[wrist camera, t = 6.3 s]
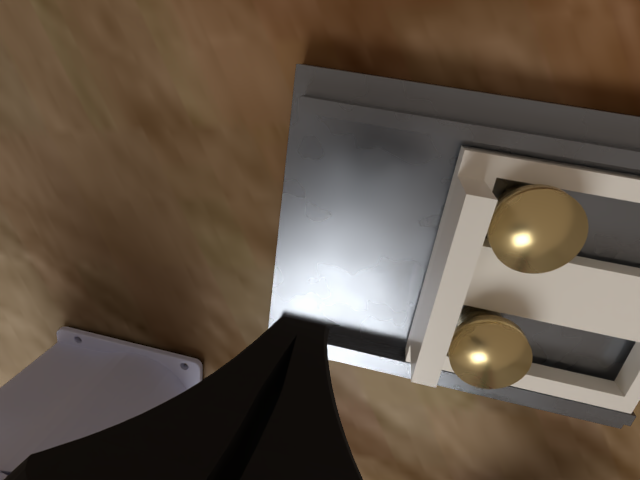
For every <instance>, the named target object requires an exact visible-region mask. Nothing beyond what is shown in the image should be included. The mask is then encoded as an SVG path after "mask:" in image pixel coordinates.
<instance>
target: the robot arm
mask: <svg viewBox="0 0 640 480" xmlns="http://www.w3.org/2000/svg"><path fill="white" fill-rule="evenodd" d="M328 335H329V329H328V328H327V326H325V325H321V324H316V323H312V322H307V321H303V320H299V319H294V318H290V317H285V316H283V317H281V318H279V319H278V320H277V321H276V322H275V323H274V324H273V325H272V326H271V327H270V328H269V329H268V330H267V331H265V332H264V333H263V334H262V335H261V336H260V337H259V338H258V339H257V340H255V341H254V342H253V343H252V344H251V345H249V346H248V347H247V348H246V349H244V350H243V351H242V352H241V353H240V354H238V355H237V356H236V357H235V358H233V359H232V360H231V361H229V362H228V363H226V364H225V365H224V366H222V367H221V368H219V369H218V370H217V371H215V372H214V373H213V374H211V375H210V376H208V377H207V378H205V379H204V380H202V373H203V366H202V363H201V361H199V360H198V359H196V358H192V357H188V356H184V355H180V354H176V353H172V352H168V351H164V350H160V349H156V348H152V347H148V346H144V345H140V344H136V343H132V342H127V341H123V340H119V339H115V338H111V337H107V336H103V335H99V334H95V333H91V332H87V331H83V330H79V329H75V328H71V327H66V326H63V327H61V328H60V329H59V330H58V331H57V340H58V342H57V343H56V344H55V345H54V346H52V347H51V348H50V349H49V350H47V351H46V352H45V353H44V354H42V355H41V356H40V357H38V358H37V359H36V360H35V361H33V362H32V363H31V364H30V365H28V366H27V367H26V368H25V369H23V370H22V371H21V372H20V373H18V374H17V375H16V376H15V377H13V378H12V379H11V380H10V381H8V382H7V383H6V384H5V385H3V386H2V387H1V388H0V480H363V479H362V476H361V474H360V472H359V470H358V467H357V465H356V463H355V460H354V458H353V456H352V453H351V450H350V447H349V445H348V442H347V439H346V436H345V433H344V430H343V427H342V424H341V421H340V417H339V414H338V410H337V406H336V402H335V398H334V393H333V389H332V384H331V377H330V371H329V364H328V351H327V341H328ZM184 363H185V364H187V365H188V366H187V365H185V364H184Z"/></svg>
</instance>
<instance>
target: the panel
mask: <svg viewBox="0 0 640 480" xmlns="http://www.w3.org/2000/svg"><path fill="white" fill-rule="evenodd" d="M496 178H502V179H508V180H513V181H519V182H525V183H530V184H544V185H550V186H554V187H557V188H559V189H564V190H570V191H575V192H581V193H586V194H592V195H598V196H603V197H609V198H615V199H620V200H626V201H631V202H637V203H640V176H639V175H633V174H627V173H621V172H615V171H609V170H603V169H597V168H592V167H586V166H580V165H574V164H568V163H562V162H556V161H551V160H545V159H539V158H533V157H527V156H521V155H515V154H510V153H504V152H498V151H492V150H486V149H480V148H474V147H469V146H463V145H461V149H460V152H459V156H458V160H457V163H456V167H455V170H454V174H453V178H452V181H451V185H450V188H449V192H448V196H447V199H446V203H445V207H444V210H443V214H442V217H441V221H440V225H439V228H438V232H437V236H436V239H435V243H434V246H433V250H432V254H431V257H430V261H429V265H428V268H427V272H426V275H425V279H424V283H423V286H422V290H421V294H420V297H419V301H418V304H417V308H416V312H415V315H414V319H413V323H412V326H411V330H410V333H409V337H408V341H407V344H406V348H405V361H406V362H410V363H411V382H414V383H419V384H423V385H427V386H431V387H435V388H436V386H437V383H438V380H439V377H440V374H441V371H442V370H445V371H449V372H453V373H454V371H453V370H452V367H451V365H450V361H449V354H448V349H449V346H450V343H451V340H452V337H453V334H454V331H455V328H456V325H457V322H458V319H459V316H460V313H461V310H462V307H463V305H467V306H472V307H477V308H481V309H486V310H491V311H495V312H500V313H505V314H509V315H514V316H519V317H523V318H528V319H533V320H537V321H542V322H547V323H552V324H556V325H561V326H566V327H570V328H575V329H580V330H584V331H589V332H594V333H598V334H603V335H608V336H612V337H617V338H622V339H626V340H631V341H636V343H635V345H634V346H633V348H632V350H631V352H630V354H629V355H628V357H627V359H626V361H625V363H624V364H623V366H622V368H621V370H620V372H619V373H618V375H617V377H616V379H615V381H611V380H607V379H602V378H598V377H593V376H589V375H584V374H580V373H575V372H571V371H567V370H562V369H558V368H553V367H549V366H544V365H540V364H535V363H532V364H531V367H530V369H529V371H528V372H527V373H526V375H525V376H524V377H523V378H522V379H520V380H519V381H518V382H516V383H514V384H512V385H510V386H513V387H518V388H522V389H526V390H531V391H535V392H539V393H544V394H548V395H552V396H556V397H561V398H565V399H569V400H574V401H578V402H582V403H587V404H591V405H595V406H599V407H604V408H608V409H612V410H617V411H621V412H625V413H630V414H631V413H632V412H633V410H634V408H635V407H636V405H637V403H638V402H639V400H640V268H636V267H631V266H626V265H621V264H616V263H611V262H605V261H600V260H595V259H590V258H585V257H580V256H575V257H574V258H573V259H572V260H571V261H570V262H568V263H567V264H565V265H564V266H562V267H560V268H558V269H555V270H553V271H550V272H545V273H539V274H528V273H522V272H518V271H515V270H513V269H511V268H509V267H507V266H506V265H504V264H503V263H502V262H501V261H500V260H499V259H498V258H497V257H496V255H495V254H494V252H493V250H492V248H491V246H490V244H489V241H488V239H487V238H485V237H486V234H487V231H488V228H489V225H490V222H491V219H492V216H493V213H494V210H495V207H496V204H497V201H498V200H497V198H496V197H495V195H494V194H493V193H492V190H493V187H494V184H495V181H496Z"/></svg>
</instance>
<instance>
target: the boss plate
mask: <svg viewBox="0 0 640 480" xmlns="http://www.w3.org/2000/svg"><path fill="white" fill-rule="evenodd" d="M461 145H463V146H469V147H474V148H480V149H486V150H492V151H498V152H504V153H510V154H515V155H521V156H527V157H533V158H539V159H545V160H551V161H556V162H562V163H568V164H574V165H580V166H586V167H592V168H597V169H603V170H609V171H615V172H621V173H627V174H633V175H639V176H640V116H635V115H629V114H622V113H616V112H609V111H603V110H596V109H590V108H584V107H577V106H571V105H564V104H558V103H551V102H545V101H539V100H532V99H526V98H519V97H513V96H506V95H500V94H493V93H487V92H481V91H474V90H468V89H461V88H455V87H448V86H442V85H436V84H429V83H423V82H416V81H410V80H403V79H397V78H390V77H384V76H378V75H371V74H365V73H358V72H352V71H345V70H339V69H332V68H326V67H320V66H313V65H307V64H296V72H295V81H294V91H293V100H292V110H291V119H290V129H289V138H288V147H287V157H286V166H285V176H284V185H283V195H282V204H281V213H280V223H279V232H278V242H277V251H276V261H275V270H274V280H273V289H272V298H271V308H270V317H269V327H268V329H269V328H270V327H271V326H272V325H273V324H274V323H275V322H276V321H277V320H278V319H279V318H281V317H283V316H285V317H290V318H294V319H299V320H303V321H307V322H312V323H316V324H321V325H325V326H327V328H328V329H329V335H328V341H327V351H328V359H329V360H333V361H338V362H342V363H346V364H350V365H354V366H359V367H363V368H367V369H371V370H376V371H380V372H384V373H388V374H392V375H397V376H401V377H405V378H409V379H411V363H410V362H406V361H405V348H406V344H407V341H408V337H409V333H410V330H411V326H412V323H413V319H414V315H415V312H416V308H417V304H418V301H419V297H420V294H421V290H422V286H423V283H424V279H425V275H426V272H427V268H428V265H429V261H430V257H431V254H432V250H433V246H434V243H435V239H436V236H437V232H438V228H439V225H440V221H441V217H442V214H443V210H444V207H445V203H446V199H447V196H448V192H449V188H450V185H451V181H452V178H453V174H454V170H455V167H456V163H457V160H458V156H459V152H460V149H461ZM492 193H493V194H494V195H495V197H496V198H497V200H498V201H497V204H496V207H495V210H494V213H493V216H492V219H491V222H490V225H489V228H488V231H487V234H486V237H485V238H487V239H488V241H489V244H490V246H491V248H492V250H493V252H494V254H495V255H496V257H497V258H498V259H499V260H500V261H501V262H502V263H503V264H504V265H506V266H507V267H509V268H511V269H513V270H515V271H518V272H522V273H528V274H539V273H545V272H550V271H553V270H555V269H558V268H560V267H562V266H564V265H565V264H567V263H568V262H570V261H571V260H572V259H573V258H574V257H575V256H580V257H585V258H590V259H595V260H600V261H605V262H611V263H616V264H621V265H626V266H631V267H636V268H640V203H637V202H631V201H626V200H620V199H615V198H609V197H603V196H598V195H592V194H586V193H581V192H575V191H570V190H564V189H559V188H557V187H554V186H550V185H544V184H530V183H525V182H519V181H513V180H508V179H502V178H496V181H495V184H494V187H493V190H492ZM635 343H636V341H631V340H626V339H622V338H617V337H612V336H608V335H603V334H598V333H594V332H589V331H584V330H580V329H575V328H570V327H566V326H561V325H556V324H552V323H547V322H542V321H537V320H533V319H528V318H523V317H519V316H514V315H509V314H505V313H500V312H495V311H491V310H486V309H481V308H477V307H472V306H467V305H463V307H462V310H461V313H460V316H459V319H458V322H457V325H456V328H455V331H454V334H453V337H452V340H451V343H450V346H449V349H448V354H449V361H450V365H451V367H452V370H453V371H454V373H453V372H449V371H445V370H442V371H441V374H440V377H439V380H438V383H437V385H439V386H443V387H447V388H451V389H456V390H460V391H464V392H468V393H472V394H477V395H481V396H485V397H489V398H494V399H498V400H502V401H506V402H510V403H515V404H519V405H523V406H527V407H532V408H536V409H540V410H544V411H548V412H553V413H557V414H561V415H565V416H569V417H574V418H578V419H582V420H586V421H591V422H595V423H599V424H603V425H607V426H612V427H616V428H620V429H621V428H622V426H623V425H628V426H631V424H632V422H633V421H634V419H635V418H636V415H635V414H634V412H632V413H631V414H630V413H625V412H621V411H617V410H612V409H608V408H604V407H599V406H595V405H591V404H587V403H582V402H578V401H574V400H569V399H565V398H561V397H556V396H552V395H548V394H544V393H539V392H535V391H531V390H526V389H522V388H518V387H513V386H510V385H512V384H514V383H516V382H518V381H519V380H520V379H522V378H523V377H524V376H525V375H526V373H527V372H528V371H529V369H530V367H531V364H532V363H535V364H540V365H544V366H549V367H553V368H558V369H562V370H567V371H571V372H575V373H580V374H584V375H589V376H593V377H598V378H602V379H607V380H611V381H615V379H616V377H617V375H618V373H619V372H620V370H621V368H622V366H623V364H624V363H625V361H626V359H627V357H628V355H629V354H630V352H631V350H632V348H633V346H634V345H635Z"/></svg>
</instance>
